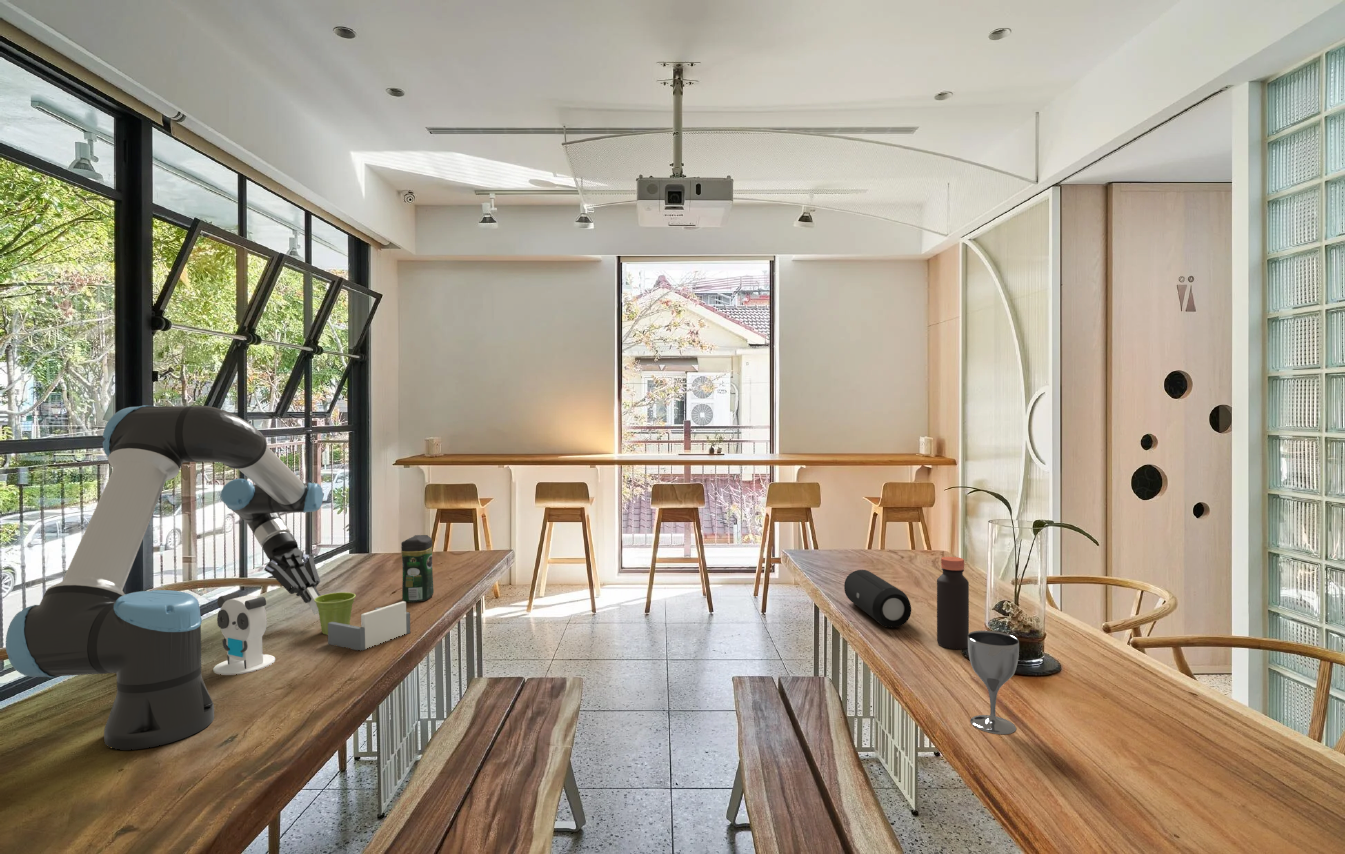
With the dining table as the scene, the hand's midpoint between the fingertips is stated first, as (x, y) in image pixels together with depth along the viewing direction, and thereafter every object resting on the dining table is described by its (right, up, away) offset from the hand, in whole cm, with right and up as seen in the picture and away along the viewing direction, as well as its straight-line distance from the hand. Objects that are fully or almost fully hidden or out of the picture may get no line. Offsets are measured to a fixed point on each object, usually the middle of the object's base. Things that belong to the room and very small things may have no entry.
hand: (319, 610), depth 172 cm
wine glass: (+146, -4, -57) cm, 156 cm away
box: (+17, -4, -9) cm, 20 cm away
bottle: (+155, -4, -17) cm, 156 cm away
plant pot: (+6, -5, -3) cm, 8 cm away
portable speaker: (+145, -3, +7) cm, 145 cm away
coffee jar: (+15, -4, +27) cm, 31 cm away
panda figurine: (-3, -5, -26) cm, 26 cm away
